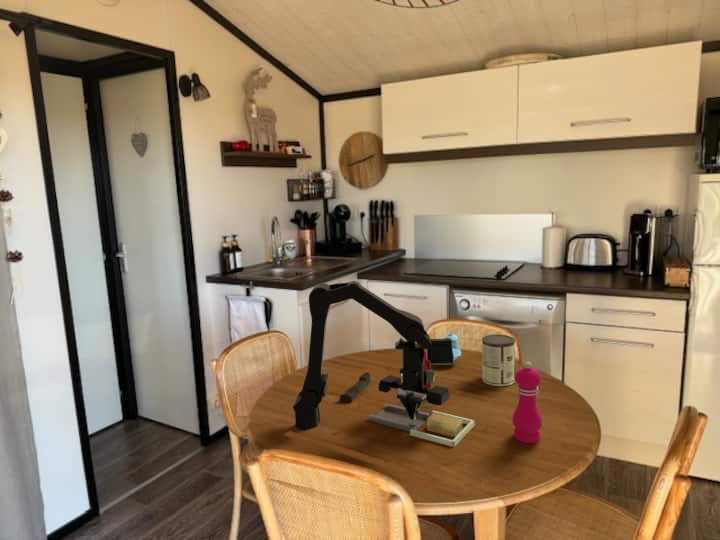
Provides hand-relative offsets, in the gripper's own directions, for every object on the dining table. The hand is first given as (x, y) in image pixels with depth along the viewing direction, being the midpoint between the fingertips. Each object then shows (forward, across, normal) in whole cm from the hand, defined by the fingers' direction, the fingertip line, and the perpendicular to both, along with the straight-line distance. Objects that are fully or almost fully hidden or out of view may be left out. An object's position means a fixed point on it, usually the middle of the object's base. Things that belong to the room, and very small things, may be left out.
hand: (413, 419), depth 138 cm
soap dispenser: (+2, +14, -52) cm, 54 cm away
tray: (+2, -8, 0) cm, 9 cm away
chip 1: (+2, -7, 0) cm, 7 cm away
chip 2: (+2, -11, 0) cm, 11 cm away
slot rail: (+2, +4, 0) cm, 5 cm away
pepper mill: (+2, -28, -10) cm, 29 cm away
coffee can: (+2, -8, -42) cm, 43 cm away
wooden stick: (+3, +26, -11) cm, 28 cm away
